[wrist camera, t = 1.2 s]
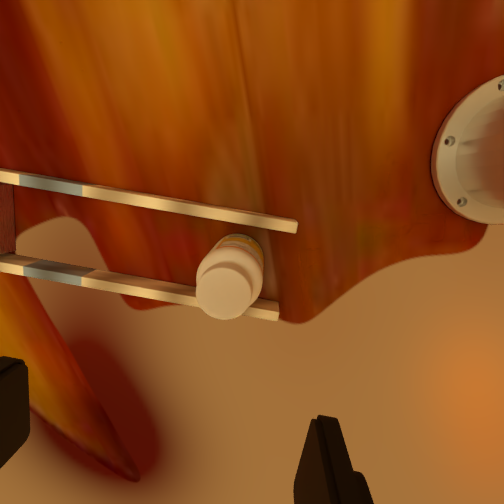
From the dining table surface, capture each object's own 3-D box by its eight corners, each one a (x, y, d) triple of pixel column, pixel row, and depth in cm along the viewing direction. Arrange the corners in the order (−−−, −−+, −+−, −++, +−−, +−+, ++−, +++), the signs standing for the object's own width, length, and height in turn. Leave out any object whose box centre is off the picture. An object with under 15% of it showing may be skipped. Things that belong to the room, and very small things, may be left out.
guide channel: (295, 219, 27) (301, 227, 22) (276, 310, 30) (278, 334, 25) (-18, 164, 28) (-78, 161, 23) (-10, 258, 30) (-63, 273, 25)
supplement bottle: (232, 291, 30) (215, 342, 20) (202, 251, 29) (169, 284, 19) (274, 265, 29) (276, 305, 19) (244, 222, 28) (231, 242, 18)
